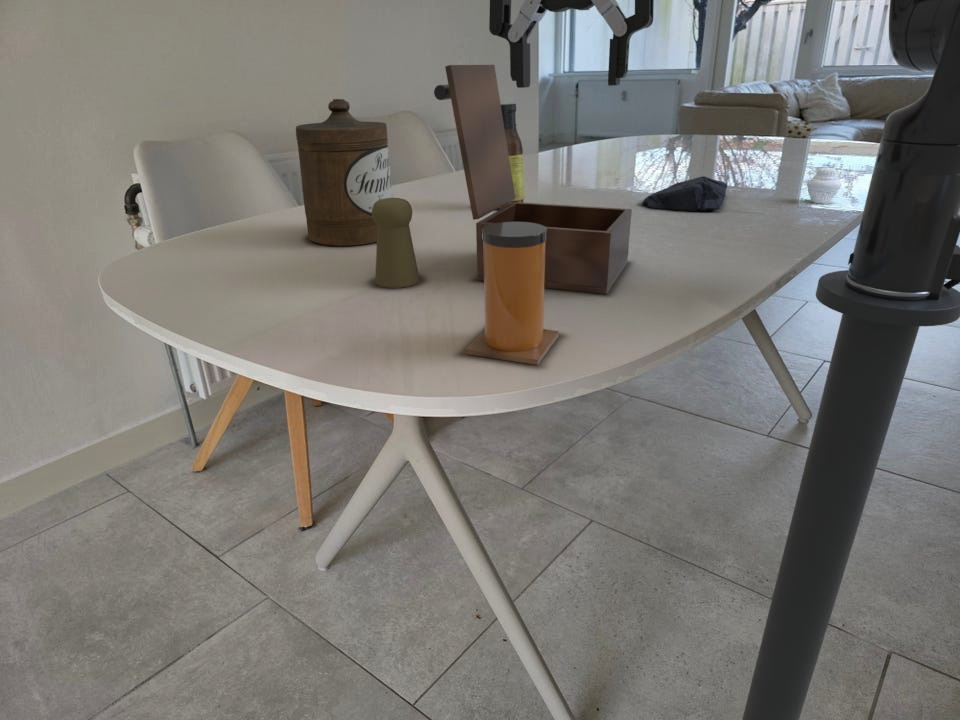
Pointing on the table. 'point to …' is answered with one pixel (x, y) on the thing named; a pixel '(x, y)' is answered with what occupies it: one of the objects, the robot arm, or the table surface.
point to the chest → (572, 243)
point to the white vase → (823, 186)
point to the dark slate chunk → (689, 195)
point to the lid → (480, 135)
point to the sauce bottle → (513, 151)
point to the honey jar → (514, 284)
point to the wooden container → (343, 176)
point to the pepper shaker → (394, 244)
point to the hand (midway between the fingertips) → (567, 86)
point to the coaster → (526, 356)
